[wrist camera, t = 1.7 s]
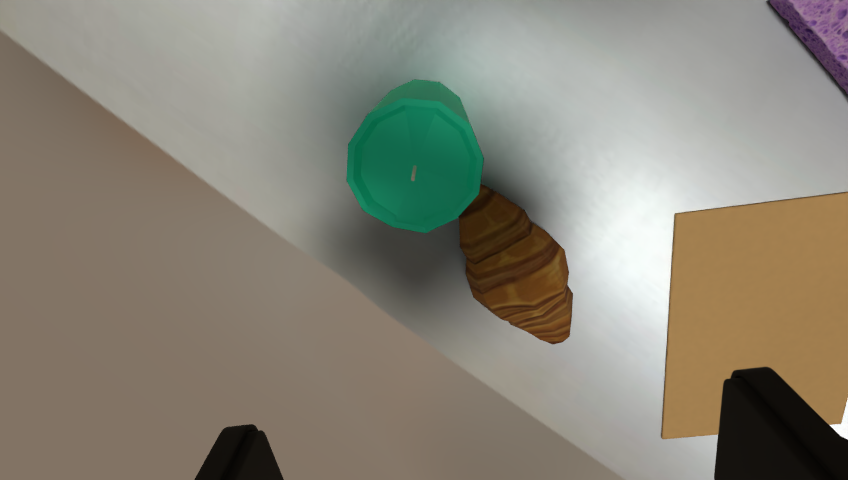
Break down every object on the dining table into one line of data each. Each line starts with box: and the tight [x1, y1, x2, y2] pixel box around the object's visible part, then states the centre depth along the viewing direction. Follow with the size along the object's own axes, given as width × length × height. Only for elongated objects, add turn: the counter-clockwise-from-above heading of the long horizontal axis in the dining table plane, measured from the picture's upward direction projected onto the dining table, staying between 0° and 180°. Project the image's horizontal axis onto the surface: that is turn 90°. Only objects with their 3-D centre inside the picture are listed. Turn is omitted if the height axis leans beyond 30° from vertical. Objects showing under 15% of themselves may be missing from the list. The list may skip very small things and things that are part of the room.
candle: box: [347, 79, 484, 233], centre depth 24 cm, size 6×6×12 cm
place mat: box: [661, 192, 848, 439], centre depth 35 cm, size 20×14×1 cm
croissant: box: [459, 183, 573, 344], centre depth 31 cm, size 14×7×5 cm, turn 32°
